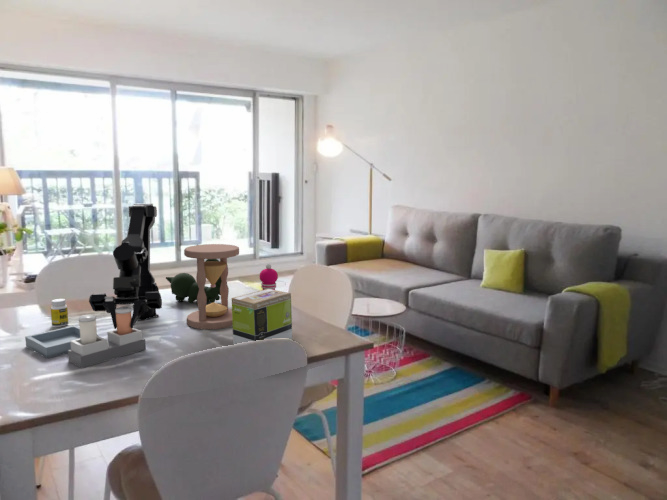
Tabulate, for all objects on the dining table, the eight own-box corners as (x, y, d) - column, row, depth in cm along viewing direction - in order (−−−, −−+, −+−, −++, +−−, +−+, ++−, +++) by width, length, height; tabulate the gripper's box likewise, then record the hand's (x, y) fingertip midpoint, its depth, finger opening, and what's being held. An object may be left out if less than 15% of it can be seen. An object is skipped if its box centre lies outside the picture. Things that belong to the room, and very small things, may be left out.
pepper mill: (284, 322, 170) (284, 263, 167) (267, 327, 165) (267, 266, 161) (270, 318, 175) (269, 261, 172) (253, 322, 169) (252, 263, 166)
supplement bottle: (61, 328, 162) (59, 302, 161) (48, 327, 163) (46, 301, 162) (71, 323, 167) (70, 298, 165) (59, 322, 168) (57, 297, 166)
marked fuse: (128, 336, 145) (126, 306, 144) (136, 339, 143) (134, 308, 141) (114, 340, 142) (112, 309, 141) (121, 343, 140) (120, 311, 138)
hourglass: (213, 333, 159) (211, 254, 155) (175, 323, 168) (172, 248, 164) (251, 319, 173) (250, 246, 169) (214, 311, 182) (212, 242, 178)
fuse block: (132, 343, 148) (131, 325, 147) (145, 349, 144) (144, 330, 143) (68, 361, 134) (67, 341, 134) (81, 368, 130) (79, 347, 129)
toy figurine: (229, 305, 196) (171, 295, 202) (232, 257, 193) (173, 248, 199) (217, 312, 187) (157, 301, 193) (220, 262, 184) (159, 252, 190)
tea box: (269, 333, 159) (269, 287, 157) (292, 340, 153) (292, 292, 150) (231, 346, 147) (230, 296, 145) (255, 354, 141) (254, 302, 139)
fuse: (93, 345, 138) (91, 313, 136) (101, 349, 135) (99, 316, 134) (77, 349, 134) (75, 316, 133) (85, 353, 132) (82, 320, 130)
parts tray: (76, 334, 156) (75, 325, 155) (98, 344, 147) (97, 334, 147) (26, 346, 145) (25, 336, 144) (47, 358, 136) (46, 347, 136)
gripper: (88, 265, 141) (79, 315, 132) (158, 263, 145) (154, 312, 136) (97, 286, 150) (89, 334, 141) (163, 284, 154) (160, 331, 145)
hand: (123, 327), depth 141 cm, fingers closed on marked fuse, 4 cm apart
